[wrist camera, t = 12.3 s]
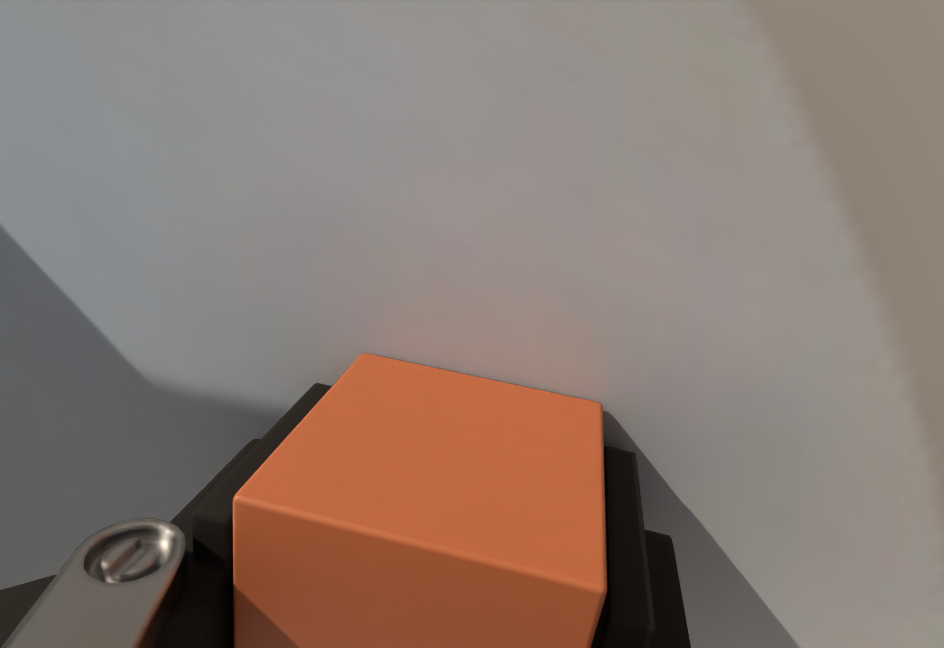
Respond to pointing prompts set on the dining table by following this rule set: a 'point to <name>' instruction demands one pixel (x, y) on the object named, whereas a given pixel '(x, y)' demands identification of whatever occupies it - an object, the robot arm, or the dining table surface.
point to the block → (425, 518)
